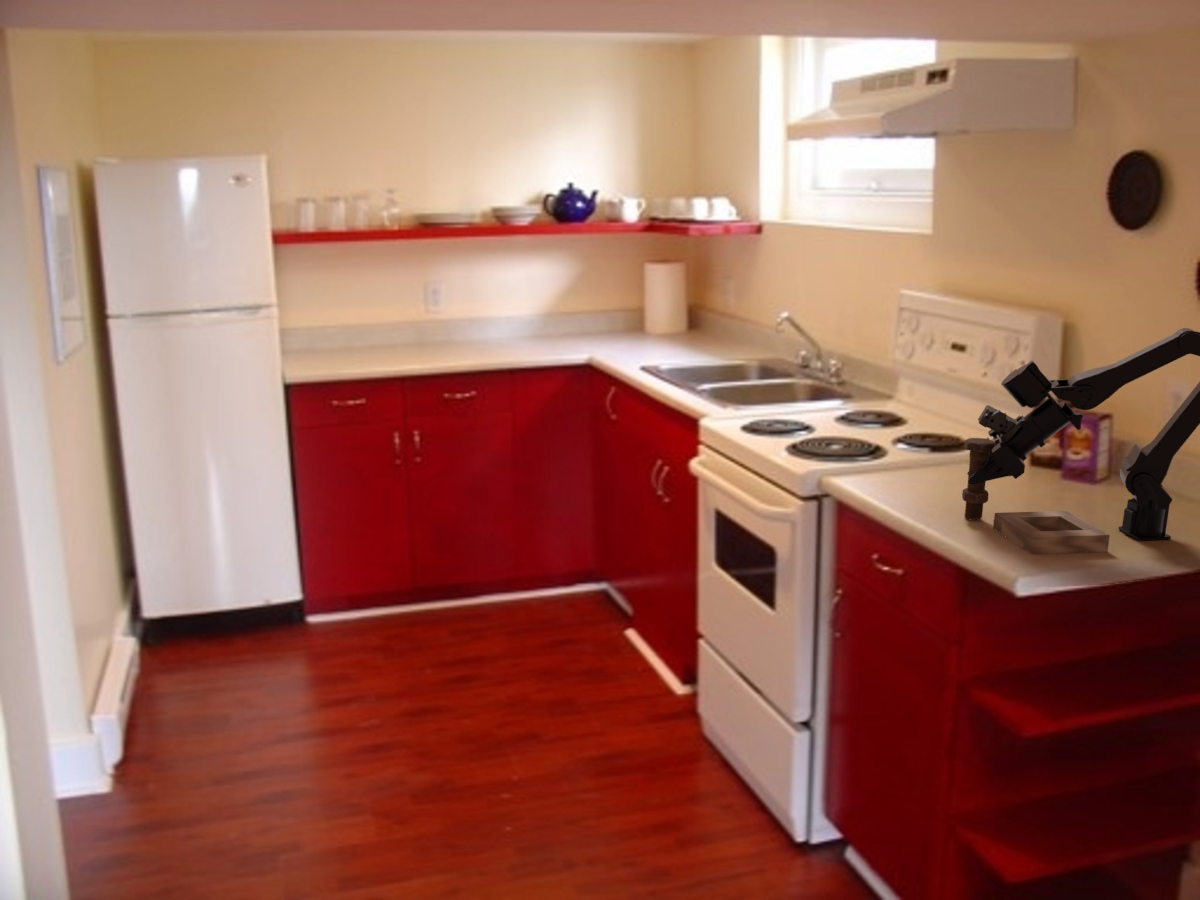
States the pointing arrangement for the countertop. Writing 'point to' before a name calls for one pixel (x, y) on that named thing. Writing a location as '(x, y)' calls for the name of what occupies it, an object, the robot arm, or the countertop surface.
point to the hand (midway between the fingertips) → (969, 479)
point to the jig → (1051, 532)
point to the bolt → (976, 492)
